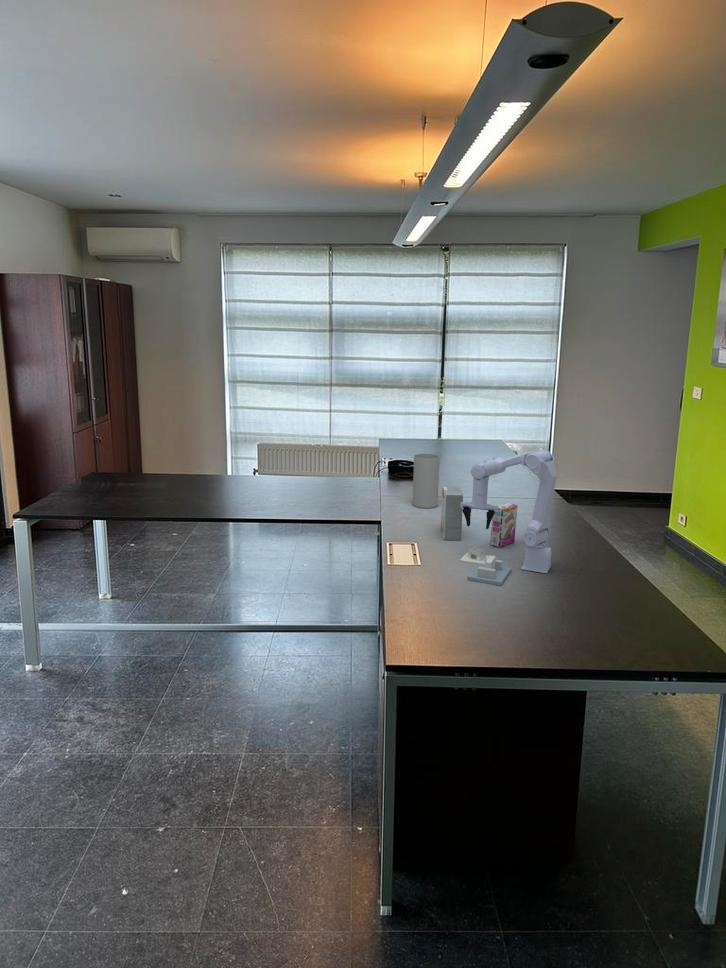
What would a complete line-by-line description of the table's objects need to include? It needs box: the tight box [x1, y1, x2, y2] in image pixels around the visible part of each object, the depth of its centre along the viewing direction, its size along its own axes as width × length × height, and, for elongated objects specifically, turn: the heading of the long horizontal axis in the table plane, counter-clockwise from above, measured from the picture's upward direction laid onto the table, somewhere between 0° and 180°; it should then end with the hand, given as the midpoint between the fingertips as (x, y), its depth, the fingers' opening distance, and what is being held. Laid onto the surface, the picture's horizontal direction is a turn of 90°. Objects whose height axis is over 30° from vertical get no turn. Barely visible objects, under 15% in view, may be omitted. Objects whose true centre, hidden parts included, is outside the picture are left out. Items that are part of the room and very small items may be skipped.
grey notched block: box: [467, 545, 487, 561], centre depth 260 cm, size 6×4×4 cm
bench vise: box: [466, 555, 512, 587], centre depth 243 cm, size 12×16×6 cm
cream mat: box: [459, 551, 491, 565], centre depth 260 cm, size 10×10×1 cm
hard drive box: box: [440, 485, 464, 541], centre depth 288 cm, size 16×8×20 cm, turn 178°
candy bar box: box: [489, 502, 518, 549], centre depth 277 cm, size 11×5×16 cm, turn 134°
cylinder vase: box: [412, 453, 441, 509], centre depth 334 cm, size 12×12×25 cm
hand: (478, 527), depth 266 cm, fingers open, 7 cm apart
